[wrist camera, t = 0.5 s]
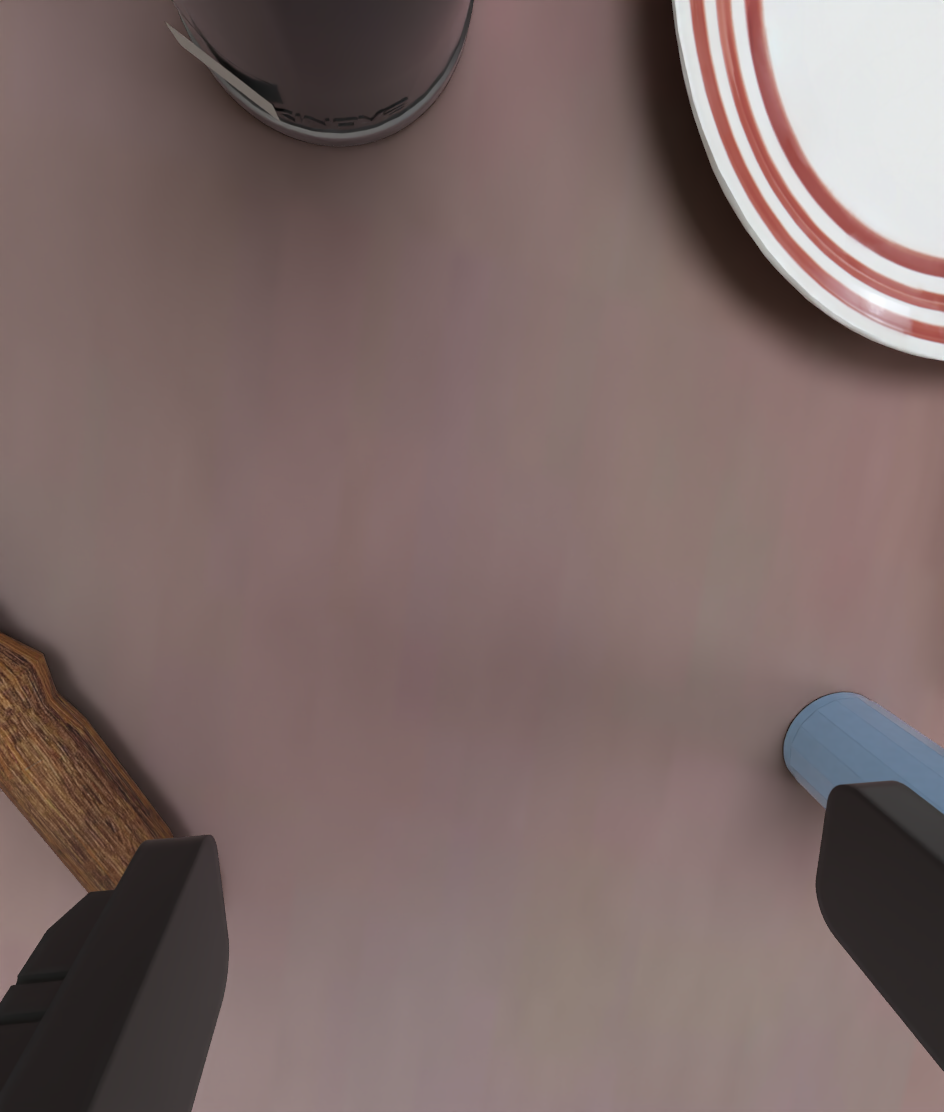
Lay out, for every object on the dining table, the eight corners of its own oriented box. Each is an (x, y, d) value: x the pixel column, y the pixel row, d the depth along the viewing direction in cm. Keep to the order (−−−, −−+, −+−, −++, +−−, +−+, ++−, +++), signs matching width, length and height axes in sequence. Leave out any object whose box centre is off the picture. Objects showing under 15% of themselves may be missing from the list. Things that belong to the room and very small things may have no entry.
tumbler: (785, 699, 30) (1024, 895, 19) (888, 685, 31) (1182, 868, 19) (780, 793, 32) (998, 1029, 20) (878, 778, 32) (1145, 1001, 21)
